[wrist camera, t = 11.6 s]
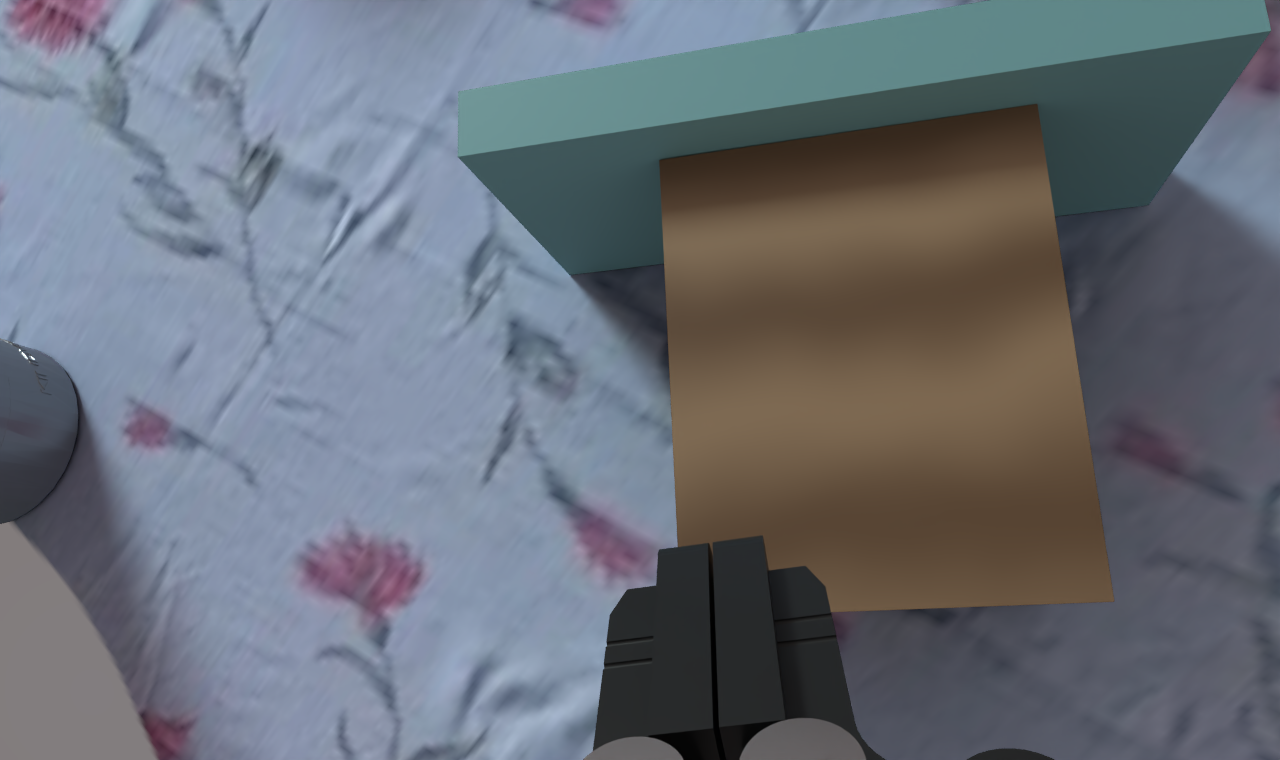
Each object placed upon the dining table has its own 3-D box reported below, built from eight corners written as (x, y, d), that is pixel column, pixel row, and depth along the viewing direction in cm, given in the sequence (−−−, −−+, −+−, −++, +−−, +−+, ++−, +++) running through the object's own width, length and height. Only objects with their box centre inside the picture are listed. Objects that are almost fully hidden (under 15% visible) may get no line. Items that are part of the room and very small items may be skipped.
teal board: (1148, 205, 37) (1271, 30, 25) (569, 274, 42) (457, 156, 31) (1138, 149, 37) (1254, -46, 26) (568, 225, 43) (458, 91, 31)
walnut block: (1048, 599, 35) (1114, 601, 25) (729, 611, 37) (681, 617, 28) (996, 225, 38) (1037, 103, 29) (708, 260, 41) (658, 160, 31)
